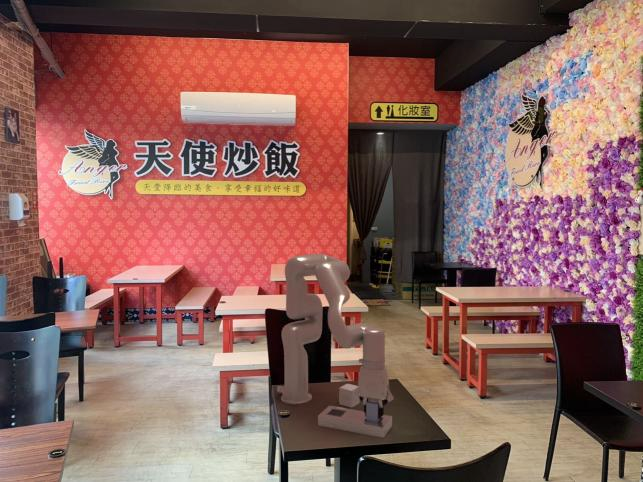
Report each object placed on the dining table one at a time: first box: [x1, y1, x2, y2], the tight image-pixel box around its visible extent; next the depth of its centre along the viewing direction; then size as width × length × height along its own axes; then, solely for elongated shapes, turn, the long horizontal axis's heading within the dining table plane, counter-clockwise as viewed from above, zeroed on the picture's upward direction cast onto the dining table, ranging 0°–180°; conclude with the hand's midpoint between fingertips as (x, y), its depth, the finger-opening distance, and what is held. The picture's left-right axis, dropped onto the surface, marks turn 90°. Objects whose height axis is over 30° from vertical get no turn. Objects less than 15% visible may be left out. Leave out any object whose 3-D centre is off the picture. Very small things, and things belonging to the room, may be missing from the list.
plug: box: [366, 398, 381, 424], centre depth 162 cm, size 4×4×10 cm
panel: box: [317, 405, 393, 439], centre depth 165 cm, size 24×10×4 cm, turn 65°
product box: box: [338, 383, 361, 409], centre depth 185 cm, size 6×6×7 cm
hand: (373, 415), depth 162 cm, fingers closed on plug, 4 cm apart
